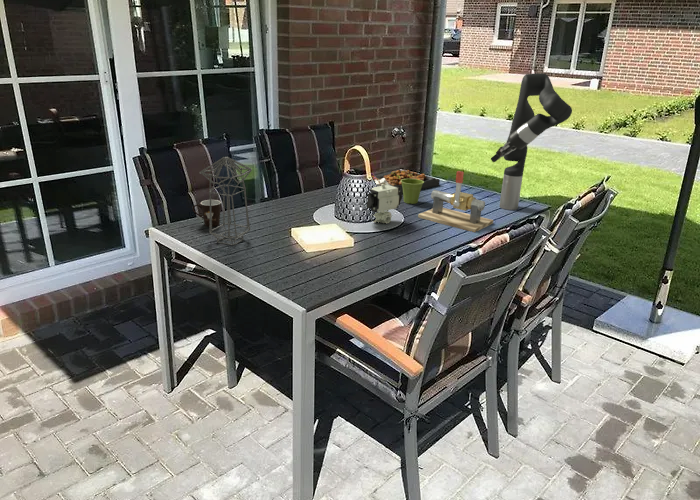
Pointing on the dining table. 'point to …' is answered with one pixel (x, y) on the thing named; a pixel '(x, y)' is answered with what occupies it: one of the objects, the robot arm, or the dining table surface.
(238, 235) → the geometric lantern
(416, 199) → the plant pot
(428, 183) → the food platter
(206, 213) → the coffee mug
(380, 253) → the dining table surface
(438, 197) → the valve body
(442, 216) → the mounting board
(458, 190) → the valve lever
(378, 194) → the ball valve
